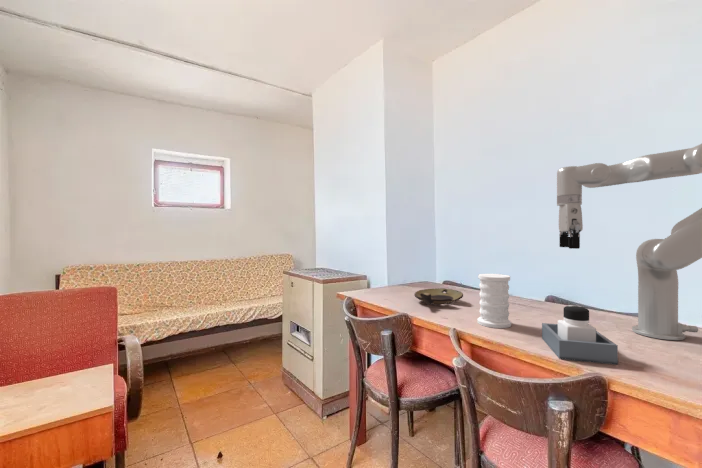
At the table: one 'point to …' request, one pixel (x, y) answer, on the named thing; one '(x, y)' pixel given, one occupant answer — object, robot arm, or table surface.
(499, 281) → the decorative container
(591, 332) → the medicine bottle
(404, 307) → the table surface
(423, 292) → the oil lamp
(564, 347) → the bin
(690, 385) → the table surface
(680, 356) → the table surface
